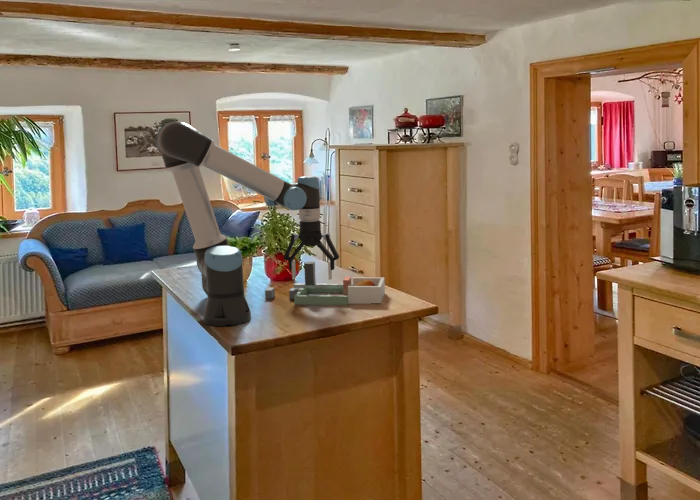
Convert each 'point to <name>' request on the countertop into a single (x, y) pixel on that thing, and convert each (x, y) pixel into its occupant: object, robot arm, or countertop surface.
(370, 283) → the fruit
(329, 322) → the countertop surface
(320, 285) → the kicker rod
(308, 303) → the pitch
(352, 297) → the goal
